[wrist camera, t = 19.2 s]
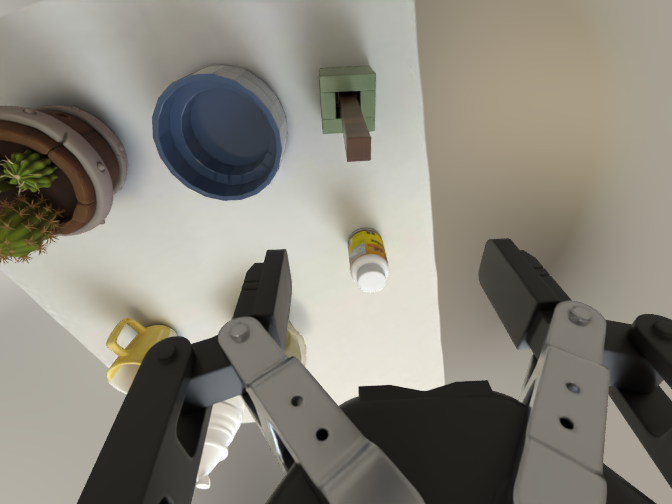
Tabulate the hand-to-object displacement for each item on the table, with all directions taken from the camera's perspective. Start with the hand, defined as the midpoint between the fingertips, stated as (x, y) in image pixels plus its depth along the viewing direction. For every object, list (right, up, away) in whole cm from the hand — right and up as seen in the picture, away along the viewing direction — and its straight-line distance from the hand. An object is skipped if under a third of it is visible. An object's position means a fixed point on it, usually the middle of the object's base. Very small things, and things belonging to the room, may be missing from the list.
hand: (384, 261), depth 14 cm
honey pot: (-30, -35, +66) cm, 81 cm away
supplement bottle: (+3, +2, +40) cm, 41 cm away
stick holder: (-1, +20, +27) cm, 34 cm away
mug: (-36, -14, +51) cm, 65 cm away
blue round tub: (-15, +17, +29) cm, 37 cm away
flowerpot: (-35, +14, +31) cm, 49 cm away
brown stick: (-1, +20, +28) cm, 34 cm away
